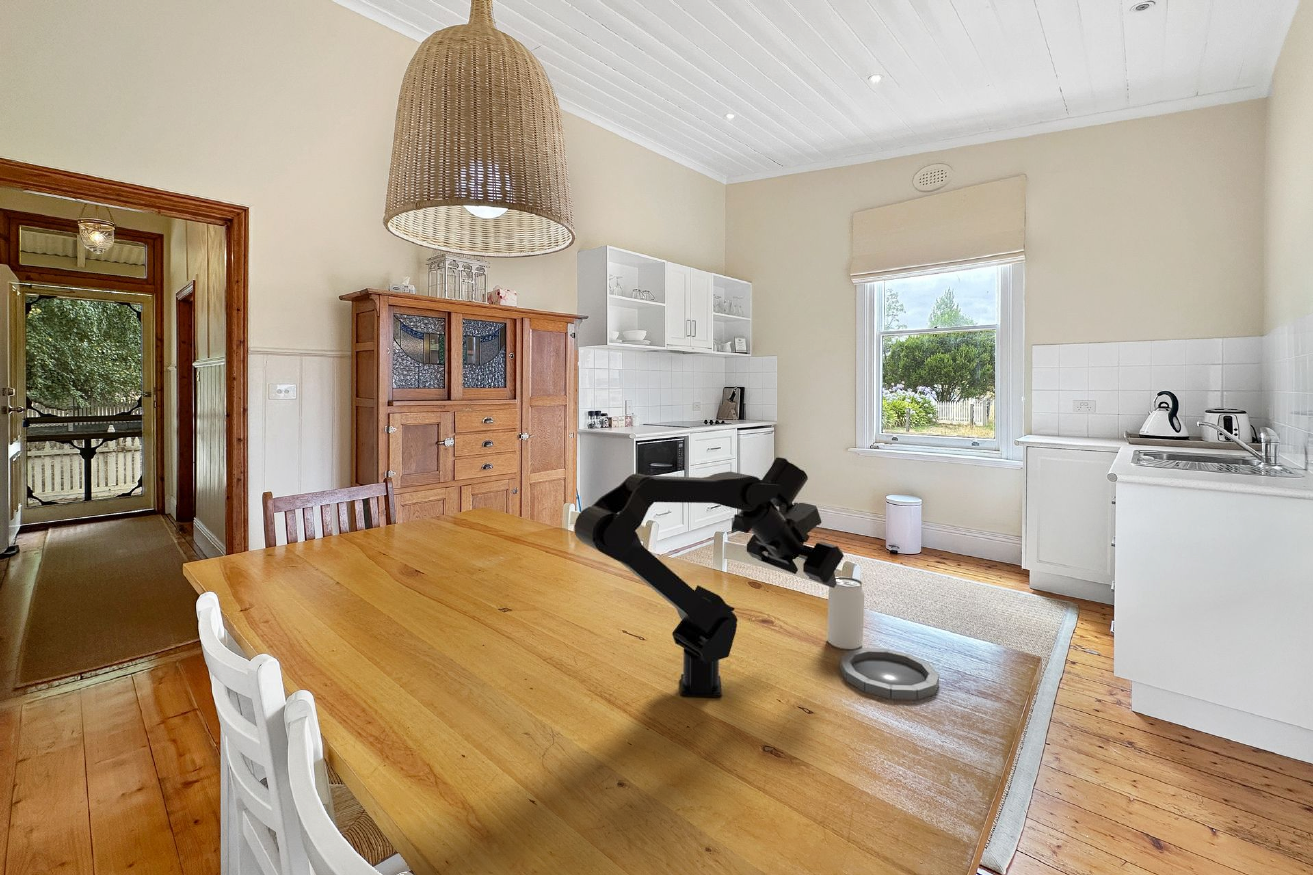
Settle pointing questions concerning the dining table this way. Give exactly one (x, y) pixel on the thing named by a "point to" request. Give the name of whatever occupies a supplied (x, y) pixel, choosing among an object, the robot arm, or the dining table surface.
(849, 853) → the dining table surface
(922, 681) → the round gray tray
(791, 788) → the dining table surface
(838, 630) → the can
